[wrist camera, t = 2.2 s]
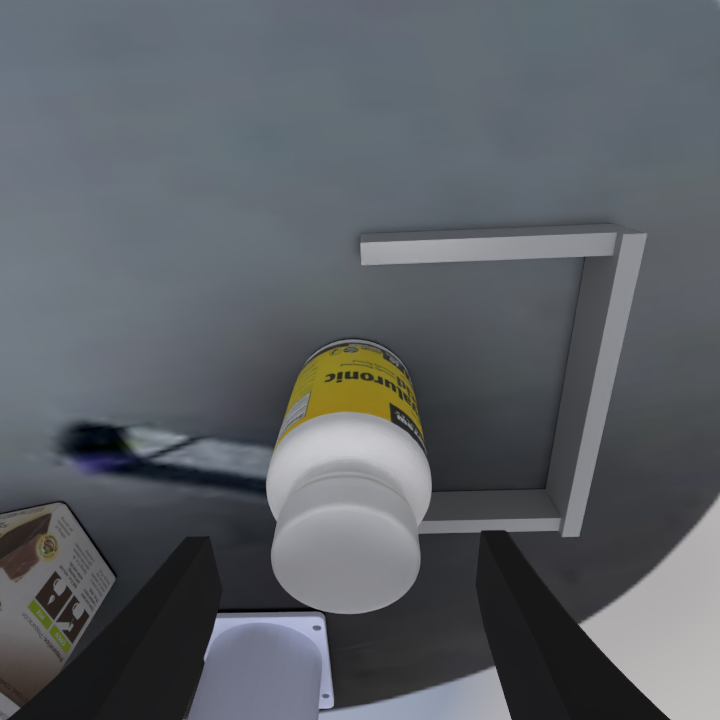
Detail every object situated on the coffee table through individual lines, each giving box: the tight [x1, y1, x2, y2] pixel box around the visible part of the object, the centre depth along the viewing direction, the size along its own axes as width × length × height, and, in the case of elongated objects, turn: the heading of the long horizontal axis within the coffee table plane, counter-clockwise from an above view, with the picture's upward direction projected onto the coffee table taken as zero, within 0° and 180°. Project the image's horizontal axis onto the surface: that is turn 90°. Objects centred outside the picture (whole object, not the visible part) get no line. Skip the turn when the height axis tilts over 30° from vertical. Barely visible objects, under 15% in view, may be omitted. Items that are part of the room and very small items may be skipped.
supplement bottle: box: [266, 339, 432, 614], centre depth 16 cm, size 5×5×10 cm
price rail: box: [360, 224, 647, 537], centre depth 19 cm, size 14×10×2 cm
